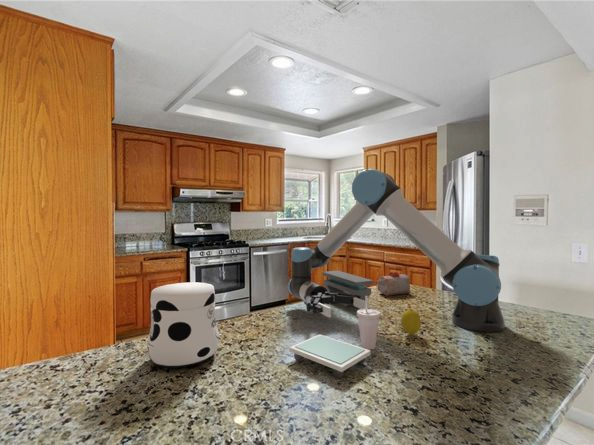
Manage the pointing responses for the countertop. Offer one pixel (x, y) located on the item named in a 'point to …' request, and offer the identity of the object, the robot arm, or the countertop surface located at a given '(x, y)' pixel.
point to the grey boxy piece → (394, 284)
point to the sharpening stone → (347, 284)
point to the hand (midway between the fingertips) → (349, 309)
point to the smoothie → (368, 326)
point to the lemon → (411, 321)
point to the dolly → (330, 353)
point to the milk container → (182, 324)
